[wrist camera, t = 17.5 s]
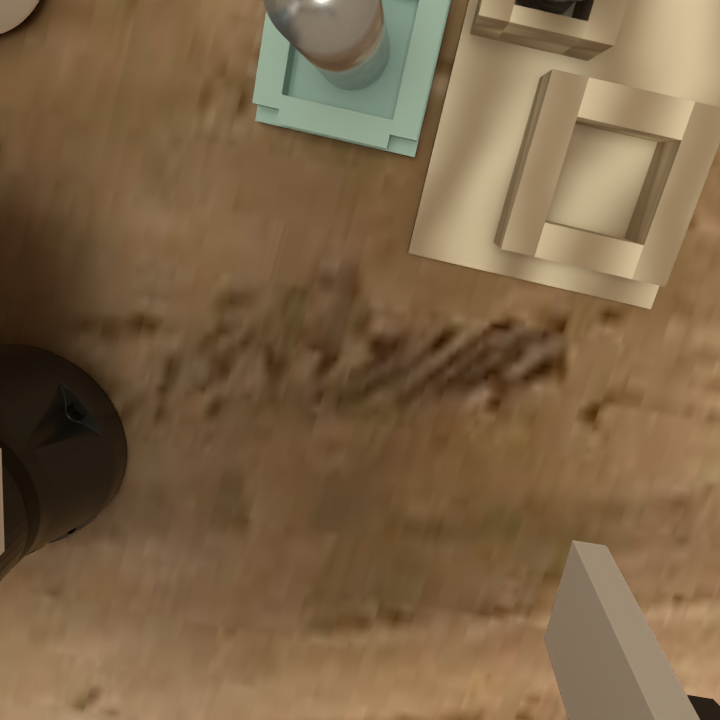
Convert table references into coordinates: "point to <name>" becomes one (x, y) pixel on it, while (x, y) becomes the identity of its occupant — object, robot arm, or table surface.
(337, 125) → the tray
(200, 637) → the table surface
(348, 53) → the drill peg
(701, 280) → the table surface
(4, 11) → the cup
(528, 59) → the socket block
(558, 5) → the black mushroom head peg
